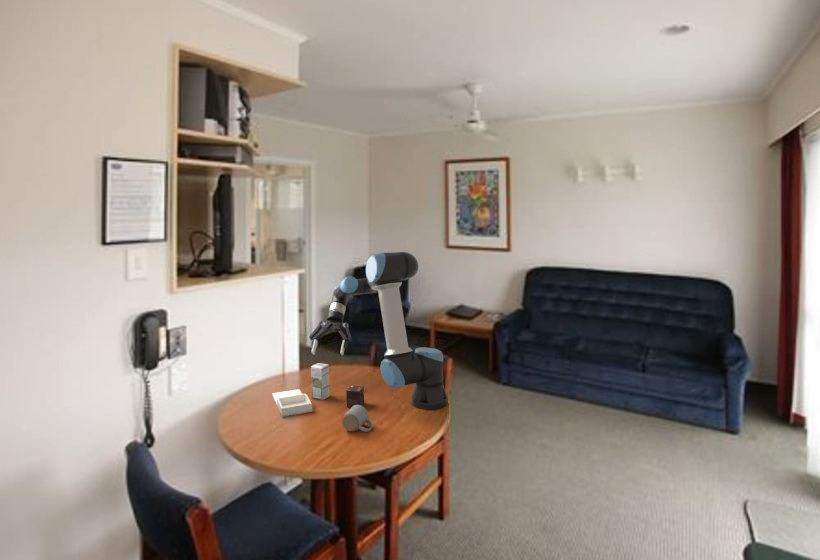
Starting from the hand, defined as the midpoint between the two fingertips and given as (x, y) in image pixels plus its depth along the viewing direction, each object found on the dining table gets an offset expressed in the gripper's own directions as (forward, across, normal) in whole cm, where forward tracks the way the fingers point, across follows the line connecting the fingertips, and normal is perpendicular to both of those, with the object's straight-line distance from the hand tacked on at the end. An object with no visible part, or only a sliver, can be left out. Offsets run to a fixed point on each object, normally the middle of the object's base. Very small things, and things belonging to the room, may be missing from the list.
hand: (327, 353), depth 219 cm
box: (+24, -18, 0) cm, 30 cm away
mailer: (+24, +10, +1) cm, 27 cm away
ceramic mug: (+39, -25, +15) cm, 48 cm away
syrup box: (+19, 0, -4) cm, 20 cm away
